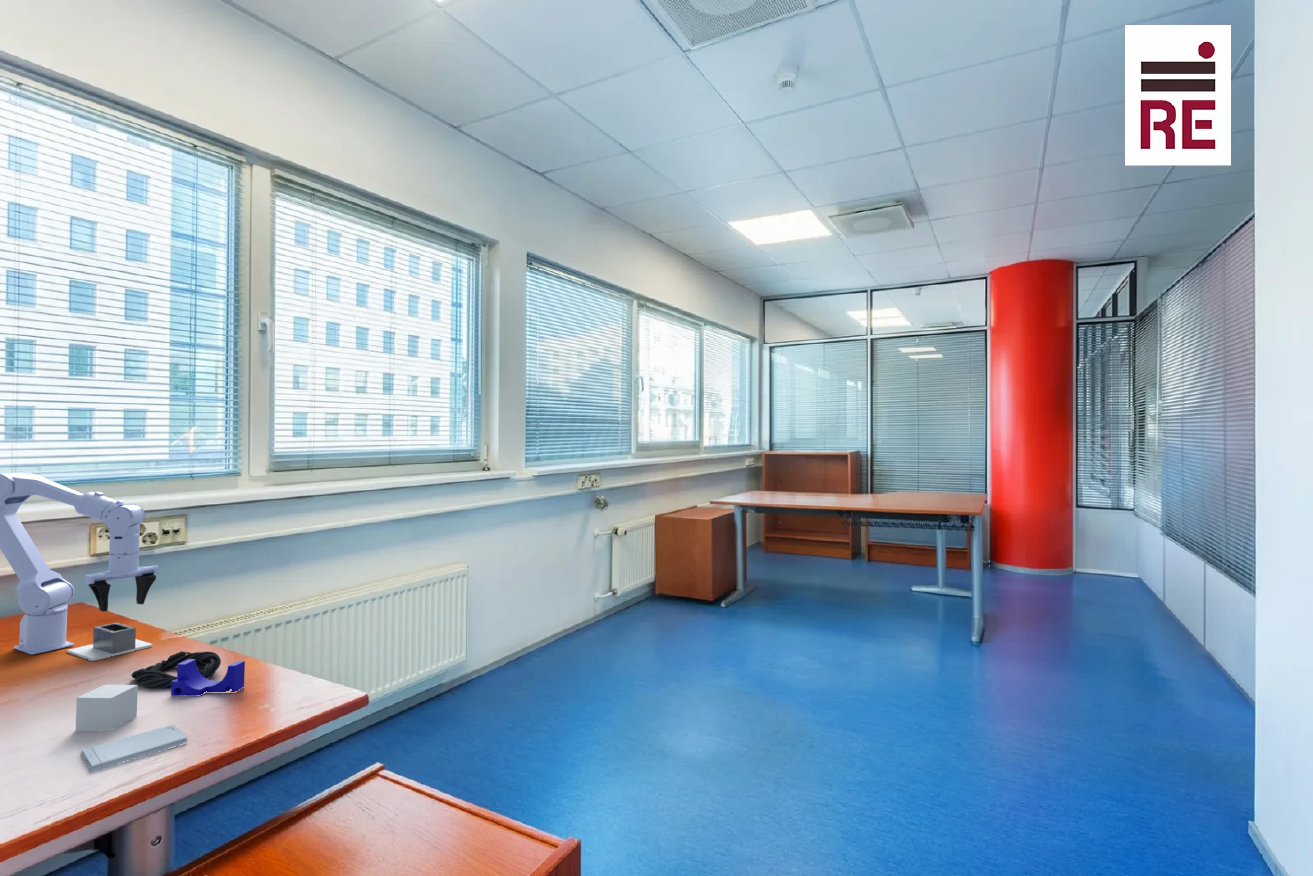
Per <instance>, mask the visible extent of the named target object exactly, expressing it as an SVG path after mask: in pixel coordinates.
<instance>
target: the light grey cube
mask: <svg viewBox="0 0 1313 876" xmlns="http://www.w3.org/2000/svg"><path fill="white" fill-rule="evenodd" d="M138 688H139V687H138V684H103V685H101V686H99V687H97V688H95V689H92V690H91V691H88V692H86V693H84V694H82V695H79V696H78V697H76V706H75V707H76V709H75V712H76V713H75V714H76V715H75V731H77V730H80V731H82V732H87V730H91V731H92V732H98V731H97V730H103V732H107V731H106V730H111V729H113V728H114V729H116V728H118V727H120V726H121V725H120V724H121V723H124V724H125V723H127V722H129V721H131V720H132V719H135V718H136V717H137V716H138V715H137V714H138V691H139V690H138ZM130 719H131V720H130ZM128 720H129V721H128ZM126 721H127V722H126ZM119 725H120V726H119ZM117 726H118V727H117ZM115 727H116V728H115ZM114 729H113V730H114ZM80 731H79V732H80ZM91 731H90V732H91ZM111 731H112V730H111ZM77 732H78V731H77Z"/></svg>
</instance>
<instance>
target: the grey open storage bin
mask: <svg viewBox="0 0 1313 876" xmlns="http://www.w3.org/2000/svg"><path fill="white" fill-rule="evenodd" d="M136 633H137V628H136V627H134V626H131V625H130V626H129V625H127V624H124V623H120V622H112V623H107V624H102V625H97V626H93V635H92V637H93V638H92V644H93V648H96V649H99V650H102V651H105V652H108V653H111V654H114V653H118V652H122V651H127V650H131V649H135V640H136V639H137V637H136V636H137V635H136Z"/></svg>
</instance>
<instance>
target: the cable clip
mask: <svg viewBox="0 0 1313 876" xmlns="http://www.w3.org/2000/svg"><path fill="white" fill-rule="evenodd" d="M245 665H246V661H245V660H236V661H234V662H232V663H230V664H229V665H227V670H226V673H225V674H224V677H223V679H222V680H211V679H209V678H208V679H206V678H205V677H203V676H202V675H201V674H200V672H199V671H198V670H199V669H197V666H196V659H188V660H186V661H184V662H181V663H179V664H178V666H177V671H176V672H177V674H176V677H177V679H176V680H174V681H171V687H170V689H171V690H170V696H179V695H182V697H183V695H201V694H203V693H204V692H206V691H207V692H226V691H229V690H230V689H232V691H231V692H235V691H238V690H239V689H241V688H242V687H244V688H245V672H246V671H245V670H246V668H245V667H246V666H245ZM203 695H204V694H203ZM201 696H202V695H201Z"/></svg>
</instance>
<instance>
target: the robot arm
mask: <svg viewBox="0 0 1313 876" xmlns="http://www.w3.org/2000/svg"><path fill="white" fill-rule="evenodd" d="M104 494H105V493H104V492H101V491H95V492H93V491H90V492H87V493H81V492H79V491H77V490H74V489H71V488H69V487H67V486H64V485H62V484H60V483H57V482H55V481H52V480H50V479H48V478H45V477H44V476H42V475H39V474H34V473H31V472H29V471H18V472H8V473H0V550H1V552H2V554H3V556H4V558H5V559H6V560H7V562H8V564H9V565H10V567H11V568H12V570H13V572H14V573H15V575H16V577H17V578H18V579H19V582H18V584H17V587H16V589H15V593H16V594H17V597H18V606H19V608H20V610H21V611H22V612H24V615H23V616H22V618H21V619H20V623H19V645H15V646H13V649H15V650H17V651H21V652H23V653H25V654H28V655H36V654H41V653H46V652H50V651H54V650H60V649H65V648H68V647H73V646H75V643H74V642H70V641H67V628H68V627H67V624H68V623H67V622H68V607H69V605H68V604H69V602H71V601H72V600H73V599H74V597H75V593H76V591H75V587H74V585H73V584H72V583H70V582H69V581H67V580H66V579H64V577H63V576H62V574H61V573H59V572H56V571H55V570H52V569H50V568H49V566H48V564H47V563H46V561H45V560H44V558H43V556H42V555H41V552H39V549H38V548H37V546H36V544H35V543H34V541H33V540H32V538H31V537H30V535H29V534H28V532H27V530H26V528H25V527H24V525H23V523H22V522H21V520H20V519H19V517H18V514H17V512H18V510H19V508H20V507H21V506H22V504H23V503H25V502H26V501H27V500H28V499H29V498H31V497H32V496H39V497H43V498H47V499H50V500H53V501H56V502H58V503H63V504H66V505H69V506H72V507H73V508H74V509H75V513H77V514H79V515H82V516H85V517H88V518H91V519H94V520H96V521H98V522H102V523H105V525H106V526H107V527H108V529H109V551H108V552H109V553H108V570H106V571H101V572H96V573H92V574H86V575H85V576H84V579H85V580H84V584H88V587H89V588H90V589H91V591H92V593H93V594H94V596H95V599H96V601H97V605H98V609H99V611H101V612H108V608H109V594H110V588H111V587H112V585H111V584H110V583H108V582H107V581H109V582H110V581H114V580H115V581H116V580H121V579H127V578H134V580H135V586H136V594H135V595H136V596H135V599H136V604H137V605H144V604H145V602H146V599H147V596H148V593H149V591H150V589H151V587H152V585H153V584H154V582H155V581H156V579H157V574H158V575H159V574H160V571H159V570H160V565H147V566H139V562H140V561H139V560H140V558H139V557H140V539H141V538H140V535H141V534H140V531H141V529H140V527H141V524H142V523H143V521H144V520H145V517H146V512H145V510H144V509H143V508H142V507H141V506H139V505H138V504H136V503H127V504H125V501H124V500H120V499H117V500H115V499H113V498H110V497H107V496H105V495H104Z"/></svg>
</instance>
